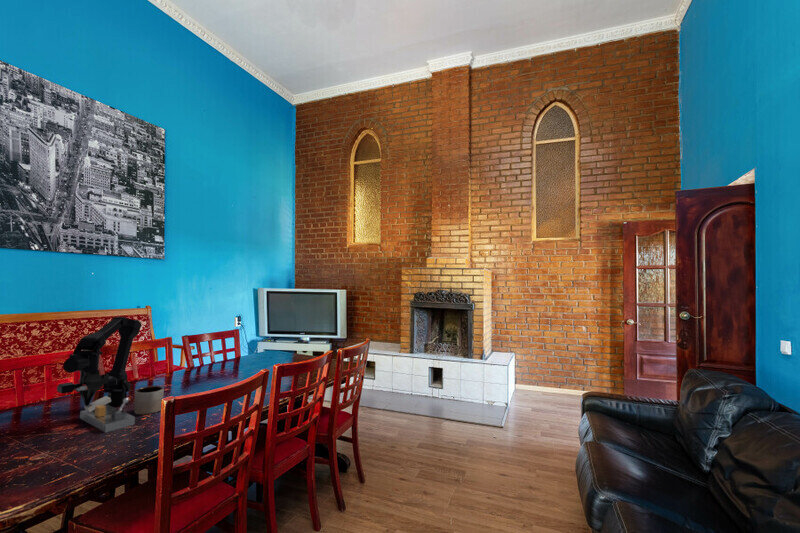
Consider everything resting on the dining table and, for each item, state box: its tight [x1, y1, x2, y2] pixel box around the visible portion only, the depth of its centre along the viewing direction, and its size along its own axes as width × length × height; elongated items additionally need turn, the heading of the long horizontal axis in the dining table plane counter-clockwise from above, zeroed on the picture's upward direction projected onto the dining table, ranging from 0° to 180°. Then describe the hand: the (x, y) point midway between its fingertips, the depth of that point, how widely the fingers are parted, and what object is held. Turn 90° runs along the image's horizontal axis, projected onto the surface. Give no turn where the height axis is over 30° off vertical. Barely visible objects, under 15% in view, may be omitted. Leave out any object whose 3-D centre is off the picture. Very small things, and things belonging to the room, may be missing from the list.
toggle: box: [114, 397, 130, 416], centre depth 154 cm, size 2×2×8 cm
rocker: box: [84, 395, 111, 412], centre depth 162 cm, size 8×4×2 cm, turn 148°
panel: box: [79, 404, 136, 433], centre depth 158 cm, size 10×24×5 cm, turn 58°
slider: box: [95, 405, 106, 417], centre depth 155 cm, size 2×3×4 cm
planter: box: [133, 385, 165, 416], centre depth 171 cm, size 11×11×10 cm
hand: (86, 405), depth 159 cm, fingers closed
